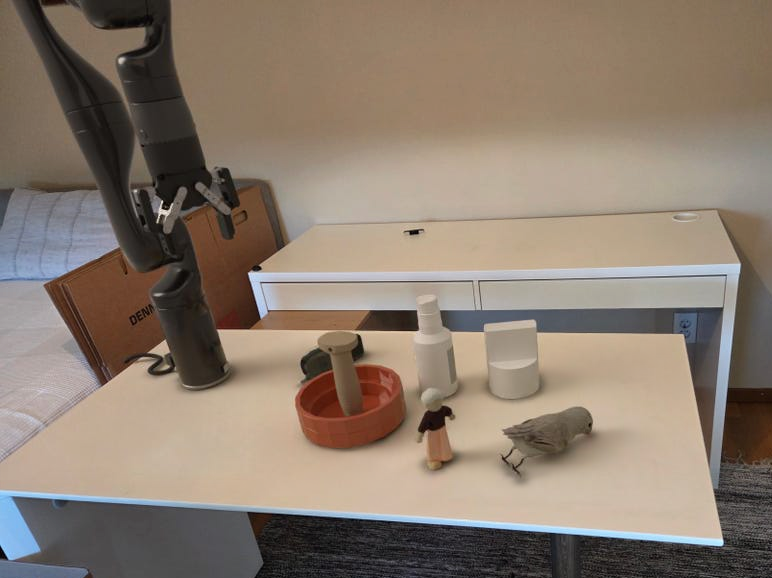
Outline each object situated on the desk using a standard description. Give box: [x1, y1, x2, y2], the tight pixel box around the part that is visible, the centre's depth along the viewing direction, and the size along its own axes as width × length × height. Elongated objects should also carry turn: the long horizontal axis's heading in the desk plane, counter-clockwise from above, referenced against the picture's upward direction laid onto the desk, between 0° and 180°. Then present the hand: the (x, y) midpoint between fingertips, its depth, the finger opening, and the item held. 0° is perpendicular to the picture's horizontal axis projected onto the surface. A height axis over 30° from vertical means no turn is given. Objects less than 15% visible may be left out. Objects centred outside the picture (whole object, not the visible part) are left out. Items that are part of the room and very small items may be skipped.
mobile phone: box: [299, 333, 365, 385], centre depth 124 cm, size 5×3×15 cm
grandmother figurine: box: [414, 388, 457, 471], centre depth 94 cm, size 8×4×13 cm, turn 148°
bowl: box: [294, 363, 407, 449], centre depth 107 cm, size 18×18×6 cm
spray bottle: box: [412, 293, 459, 399], centre depth 111 cm, size 7×7×18 cm
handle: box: [316, 330, 364, 417], centre depth 105 cm, size 5×6×15 cm
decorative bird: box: [499, 406, 594, 478], centre depth 94 cm, size 5×16×8 cm, turn 122°
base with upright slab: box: [483, 319, 540, 400], centre depth 111 cm, size 9×9×12 cm
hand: (203, 247), depth 95 cm, fingers open, 8 cm apart
